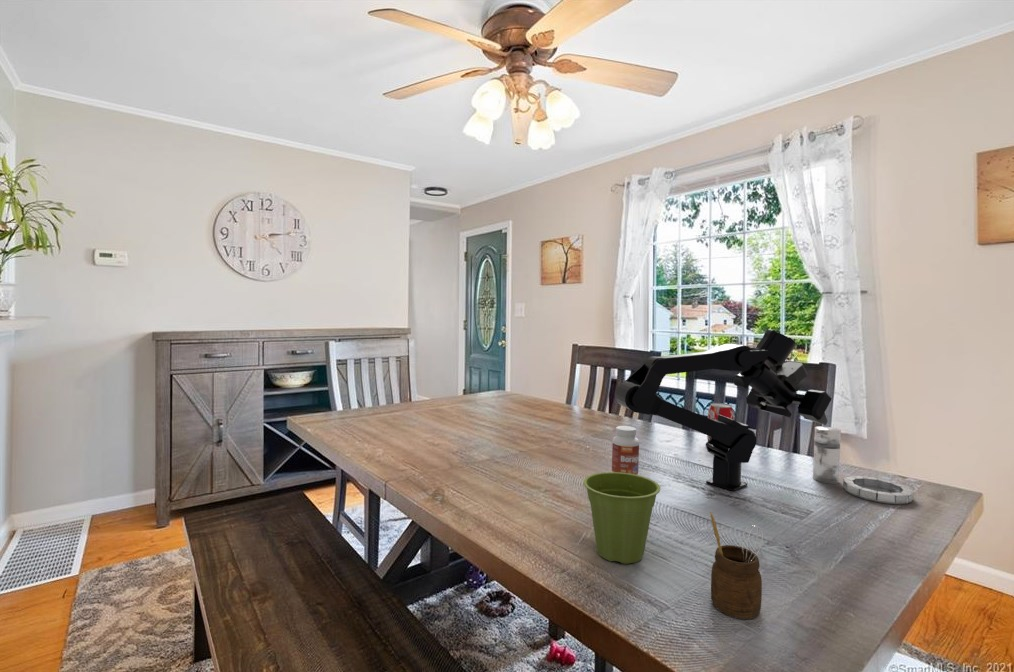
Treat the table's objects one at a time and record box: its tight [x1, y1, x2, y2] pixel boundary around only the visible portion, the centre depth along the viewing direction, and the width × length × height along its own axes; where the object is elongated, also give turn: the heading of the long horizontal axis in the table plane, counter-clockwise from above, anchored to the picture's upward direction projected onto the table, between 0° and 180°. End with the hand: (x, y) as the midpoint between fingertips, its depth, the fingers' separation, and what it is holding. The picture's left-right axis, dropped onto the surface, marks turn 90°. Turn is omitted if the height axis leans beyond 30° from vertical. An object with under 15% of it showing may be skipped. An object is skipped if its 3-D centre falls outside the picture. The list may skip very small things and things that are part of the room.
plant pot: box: [582, 471, 661, 565], centre depth 76 cm, size 12×12×11 cm
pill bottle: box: [611, 425, 640, 475], centre depth 113 cm, size 6×6×11 cm
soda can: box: [706, 402, 735, 442], centre depth 139 cm, size 7×7×12 cm
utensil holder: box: [709, 511, 764, 620], centre depth 62 cm, size 6×6×12 cm
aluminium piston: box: [812, 425, 842, 485], centre depth 111 cm, size 5×5×12 cm
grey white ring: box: [842, 475, 914, 506], centre depth 102 cm, size 12×12×2 cm
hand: (807, 419), depth 112 cm, fingers open, 9 cm apart
